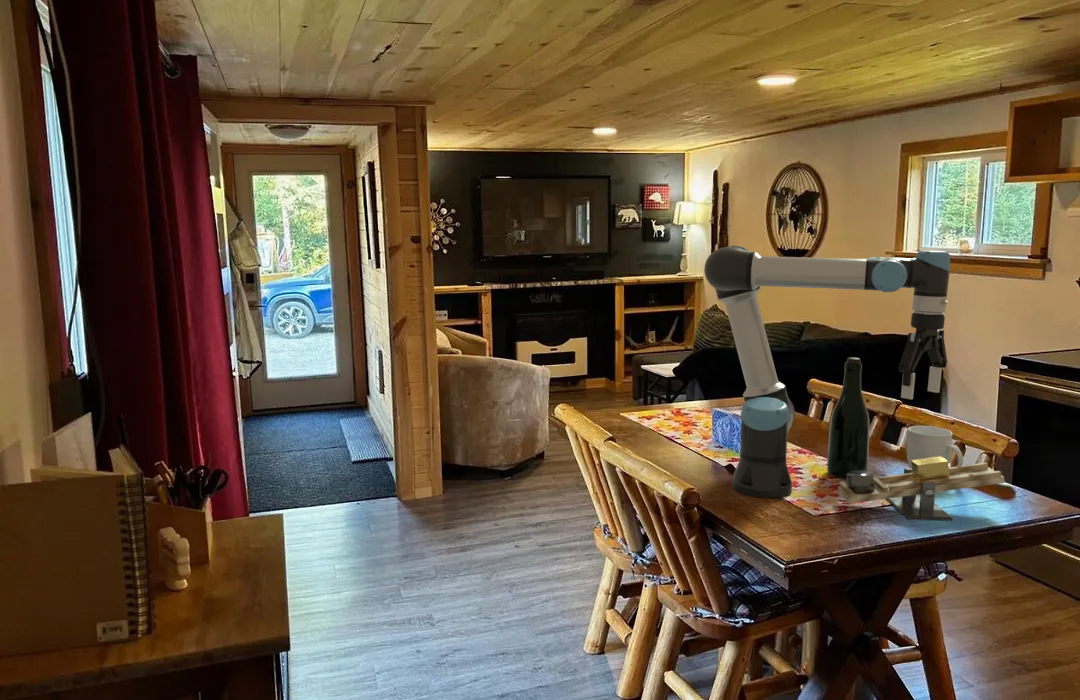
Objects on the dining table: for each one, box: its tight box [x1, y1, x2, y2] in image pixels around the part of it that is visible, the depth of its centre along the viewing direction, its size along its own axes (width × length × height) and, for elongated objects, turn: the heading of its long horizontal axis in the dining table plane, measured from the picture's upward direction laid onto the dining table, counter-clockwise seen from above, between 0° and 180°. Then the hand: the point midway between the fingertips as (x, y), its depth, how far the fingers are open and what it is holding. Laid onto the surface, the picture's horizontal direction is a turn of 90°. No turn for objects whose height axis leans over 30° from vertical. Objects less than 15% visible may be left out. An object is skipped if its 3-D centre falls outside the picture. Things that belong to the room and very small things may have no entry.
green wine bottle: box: [826, 356, 870, 480], centre depth 213 cm, size 10×10×33 cm
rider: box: [911, 456, 950, 482], centre depth 188 cm, size 7×4×5 cm, turn 85°
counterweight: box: [846, 470, 875, 494], centre depth 190 cm, size 6×6×4 cm
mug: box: [906, 425, 964, 468], centre depth 211 cm, size 15×11×13 cm
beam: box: [837, 462, 1006, 505], centre depth 188 cm, size 36×8×3 cm, turn 85°
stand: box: [886, 467, 953, 522], centre depth 189 cm, size 10×15×8 cm, turn 175°
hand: (920, 395), depth 198 cm, fingers open, 13 cm apart
